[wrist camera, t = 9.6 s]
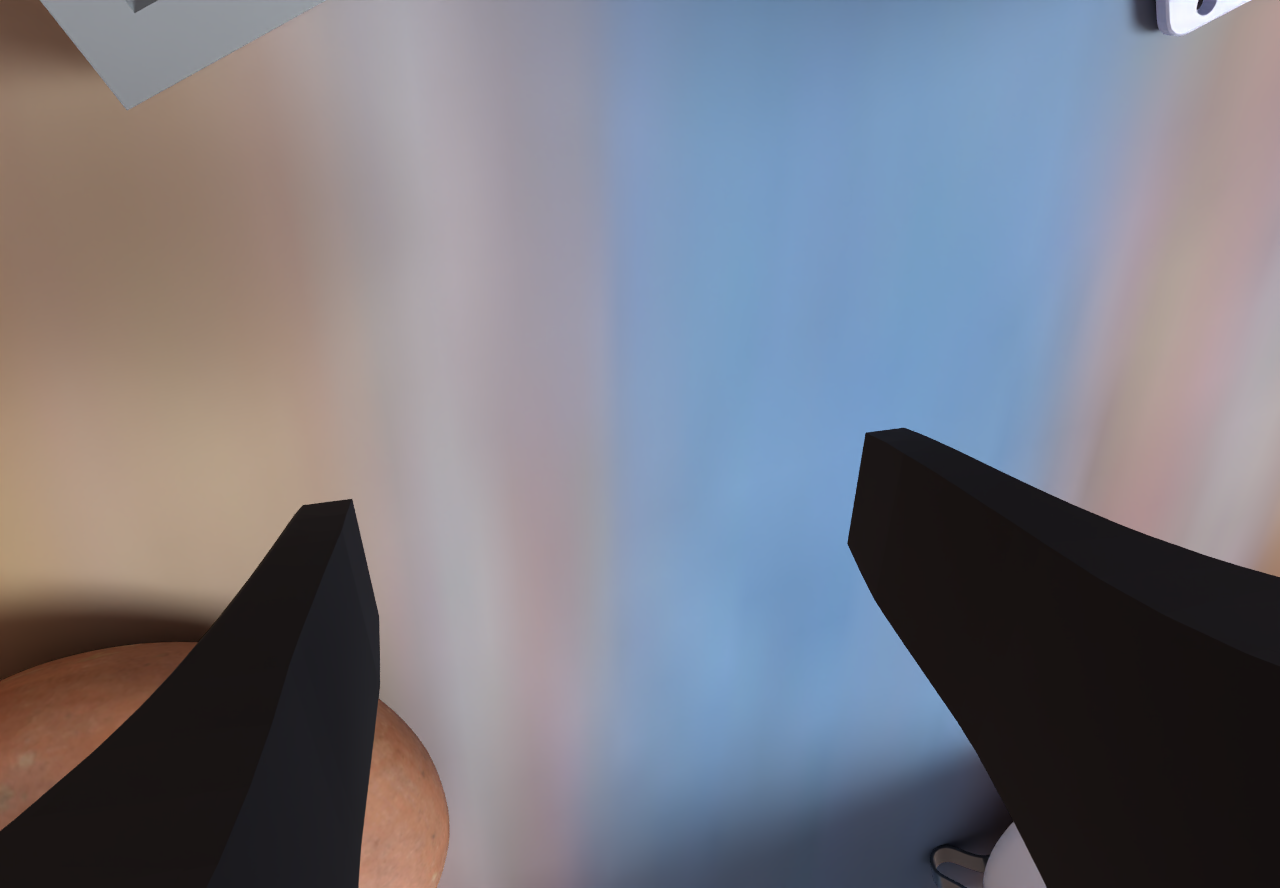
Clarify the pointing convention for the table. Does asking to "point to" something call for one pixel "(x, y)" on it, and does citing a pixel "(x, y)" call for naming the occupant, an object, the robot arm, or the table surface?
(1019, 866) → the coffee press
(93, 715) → the ceramic jug
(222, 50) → the slate box
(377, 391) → the table surface
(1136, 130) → the table surface
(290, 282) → the table surface
